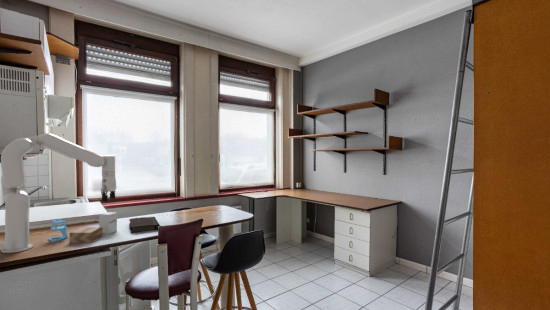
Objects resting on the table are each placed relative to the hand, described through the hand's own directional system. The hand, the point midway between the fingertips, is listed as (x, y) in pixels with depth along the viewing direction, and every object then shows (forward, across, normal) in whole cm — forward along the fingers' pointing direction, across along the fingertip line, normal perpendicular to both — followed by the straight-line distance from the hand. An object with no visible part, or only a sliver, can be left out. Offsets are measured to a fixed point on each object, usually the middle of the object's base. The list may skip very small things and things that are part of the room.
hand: (108, 200), depth 183 cm
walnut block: (+21, -15, +5) cm, 27 cm away
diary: (+22, +12, -18) cm, 31 cm away
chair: (+21, -13, +22) cm, 34 cm away
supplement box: (+22, 0, 0) cm, 22 cm away
